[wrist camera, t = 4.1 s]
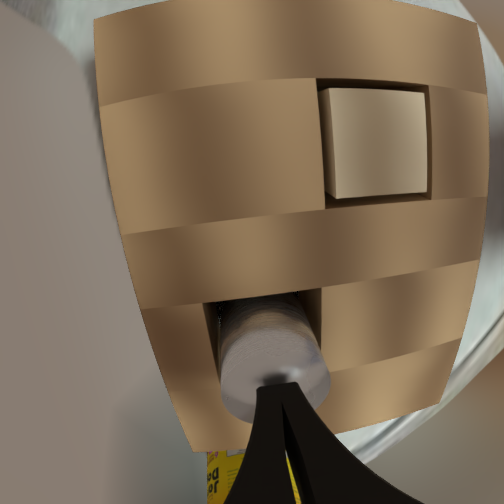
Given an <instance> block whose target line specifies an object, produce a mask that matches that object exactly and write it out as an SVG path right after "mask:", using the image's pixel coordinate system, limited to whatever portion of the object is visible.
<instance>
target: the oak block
mask: <svg viewBox="0 0 504 504" xmlns="http://www.w3.org/2000/svg"><path fill="white" fill-rule="evenodd" d="M94 49H95V67H96V81H97V92H98V103H99V112H100V121H101V129H102V136H103V143H104V150H105V157H106V163H107V169H108V175H109V181H110V186H111V192H112V197H113V202H114V207H115V212H116V217H117V221H118V226H119V230H120V235H121V239H122V243H123V248H124V252H125V256H126V260H127V264H128V268H129V272H130V275H131V279H132V283H133V286H134V290H135V294H136V297H137V301H138V304H139V307H140V311H141V314H142V317H143V321H144V324H145V327H146V330H147V333H148V336H149V339H150V342H151V345H152V349H153V351H154V354H155V357H156V360H157V363H158V366H159V369H160V372H161V374H162V377H163V380H164V383H165V385H166V388H167V390H168V393H169V396H170V398H171V401H172V403H173V406H174V408H175V411H176V413H177V416H178V418H179V421H180V423H181V425H182V428H183V430H184V433H185V435H186V437H187V439H188V442H189V444H190V446H191V449H192V451H193V452H211V451H225V450H237V449H246V448H247V445H248V442H249V438H250V434H251V430H252V425H253V424H251V423H247V422H244V421H242V420H240V419H238V418H236V417H235V416H233V415H232V414H231V413H230V412H229V411H228V410H227V409H226V408H225V406H224V404H223V402H222V399H221V358H220V330H221V329H220V325H219V319H218V314H217V308H216V303H215V302H216V301H224V300H233V299H241V298H249V297H257V296H264V295H272V294H279V293H287V292H294V291H299V301H300V302H301V305H302V307H303V309H304V312H305V314H306V317H307V319H308V321H309V324H310V326H311V329H312V331H313V334H314V336H315V338H316V341H317V343H318V346H319V348H320V351H321V353H322V356H323V358H324V360H325V363H326V365H327V368H328V370H329V373H330V377H331V386H330V390H329V393H328V395H327V397H326V398H325V400H324V401H323V402H322V403H321V405H320V406H319V407H318V408H316V409H315V412H316V413H317V414H318V416H319V417H320V418H321V420H322V421H323V422H324V423H325V425H326V426H327V427H328V428H329V430H330V431H331V432H332V433H333V434H338V433H342V432H346V431H351V430H355V429H359V428H362V427H366V426H370V425H374V424H377V423H381V422H384V421H387V420H391V419H394V418H397V417H400V416H403V415H407V414H410V413H413V412H415V411H418V410H421V409H424V408H427V407H430V406H432V405H435V404H438V403H439V402H440V400H441V397H442V395H443V392H444V389H445V387H446V384H447V381H448V379H449V376H450V373H451V370H452V367H453V364H454V361H455V358H456V355H457V352H458V349H459V346H460V342H461V339H462V336H463V332H464V328H465V325H466V321H467V317H468V313H469V309H470V305H471V301H472V297H473V292H474V288H475V283H476V278H477V273H478V267H479V262H480V256H481V250H482V243H483V236H484V228H485V219H486V209H487V197H488V182H489V114H488V99H487V88H486V78H485V70H484V63H483V56H482V49H481V44H480V38H479V33H478V28H477V23H475V22H472V21H469V20H466V19H463V18H460V17H457V16H453V15H450V14H447V13H443V12H440V11H436V10H432V9H429V8H425V7H421V6H416V5H412V4H408V3H403V2H398V1H393V0H169V1H164V2H159V3H154V4H149V5H145V6H141V7H136V8H132V9H129V10H125V11H121V12H117V13H114V14H110V15H107V16H104V17H100V18H97V19H94ZM328 88H356V89H379V90H395V91H407V92H418V93H424V100H425V114H426V133H427V192H418V193H403V194H389V195H375V196H363V197H351V198H339V199H336V198H335V197H333V196H332V195H330V194H329V193H327V192H326V191H324V176H323V159H322V144H321V131H320V119H319V108H318V98H317V92H320V91H322V90H325V89H328Z"/></svg>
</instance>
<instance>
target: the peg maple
mask: <svg viewBox="0 0 504 504" xmlns="http://www.w3.org/2000/svg"><path fill="white" fill-rule="evenodd" d="M317 98H318V108H319V119H320V131H321V144H322V159H323V176H324V191H326V192H327V193H329V194H330V195H332V196H333V197H335V198H336V199H339V198H351V197H363V196H375V195H389V194H403V193H418V192H427V133H426V114H425V100H424V93H418V92H407V91H395V90H379V89H356V88H328V89H325V90H322V91H320V92H317Z"/></svg>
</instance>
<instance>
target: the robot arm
mask: <svg viewBox="0 0 504 504" xmlns="http://www.w3.org/2000/svg"><path fill="white" fill-rule="evenodd" d="M285 450H286V451H285ZM286 453H287V457H288V460H289V463H290V467H291V470H292V473H293V477H294V480H295V483H296V487H297V490H298V493H299V497H300V501H301V504H424V503H422V502H420V501H418V500H416V499H414V498H412V497H411V496H409V495H407V494H405V493H404V492H402V491H400V490H398V489H397V488H395V487H394V486H393V485H391V484H390V483H388V482H387V481H385V480H384V479H382V478H381V477H379V476H378V475H377V474H375V473H374V472H373V471H372V470H370V469H369V468H368V467H367V466H365V465H364V464H363V463H362V462H361V461H360V460H359V459H357V458H356V457H355V456H354V455H353V454H352V453H351V452H350V451H349V450H348V449H347V448H346V447H345V446H344V445H343V444H342V443H341V442H340V441H339V440H338V439H337V438H336V436H335V435H334V434H333V433H332V432H331V431H330V430H329V428H328V427H327V426H326V425H325V423H324V422H323V421H322V420H321V418H320V417H319V416H318V414H317V413H316V412H315V410H314V409H313V407H312V406H311V404H310V403H309V401H308V400H307V398H306V397H305V395H304V393H303V392H302V390H301V388H300V386H299V384H298V383H297V382H295V381H294V382H288V383H281V384H275V385H268V386H260V387H258V388H257V389H256V409H255V415H254V421H253V425H252V430H251V434H250V438H249V442H248V445H247V448H246V451H245V454H244V458H243V461H242V463H241V466H240V469H239V471H238V474H237V476H236V478H235V481H234V483H233V485H232V487H231V489H230V491H229V493H228V495H227V497H226V499H225V501H224V503H223V504H296V500H295V496H294V491H293V487H292V482H291V478H290V473H289V468H288V464H287V458H286Z"/></svg>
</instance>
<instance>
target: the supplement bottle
mask: <svg viewBox="0 0 504 504" xmlns="http://www.w3.org/2000/svg"><path fill="white" fill-rule="evenodd" d="M245 451H246V449H237V450H225V451H211V452H207V504H223V503H224V501H225V499H226V497H227V495H228V493H229V491H230V489H231V487H232V485H233V483H234V481H235V478H236V476H237V474H238V471H239V469H240V466H241V463H242V461H243V458H244V454H245ZM285 451H286V450H285ZM286 458H287V464H288V468H289V473H290V478H291V482H292V487H293V491H294V496H295V500H296V504H301V501H300V497H299V493H298V490H297V487H296V483H295V480H294V477H293V473H292V470H291V467H290V463H289V460H288V457H287V453H286Z"/></svg>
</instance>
